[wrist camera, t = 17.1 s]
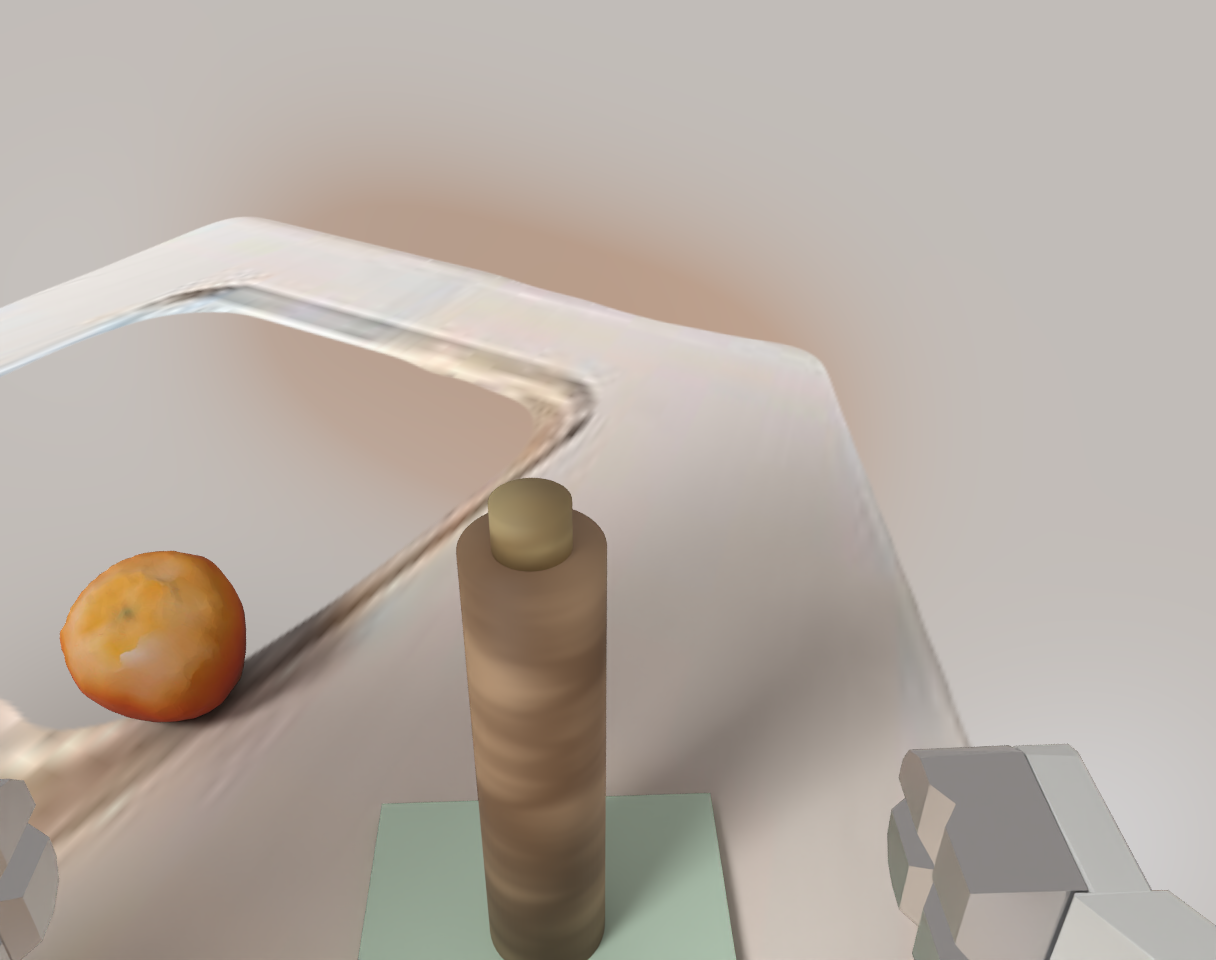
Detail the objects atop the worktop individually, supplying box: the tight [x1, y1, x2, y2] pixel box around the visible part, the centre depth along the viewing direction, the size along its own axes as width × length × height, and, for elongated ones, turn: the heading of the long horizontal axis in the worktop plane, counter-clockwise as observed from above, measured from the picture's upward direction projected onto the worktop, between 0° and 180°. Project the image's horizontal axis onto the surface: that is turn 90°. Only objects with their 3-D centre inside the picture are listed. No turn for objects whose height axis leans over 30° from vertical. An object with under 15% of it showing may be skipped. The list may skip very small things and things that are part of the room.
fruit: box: [60, 551, 246, 722], centre depth 53 cm, size 8×8×8 cm
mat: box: [358, 793, 736, 960], centre depth 43 cm, size 14×12×1 cm
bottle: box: [456, 478, 607, 960], centre depth 37 cm, size 4×4×20 cm
